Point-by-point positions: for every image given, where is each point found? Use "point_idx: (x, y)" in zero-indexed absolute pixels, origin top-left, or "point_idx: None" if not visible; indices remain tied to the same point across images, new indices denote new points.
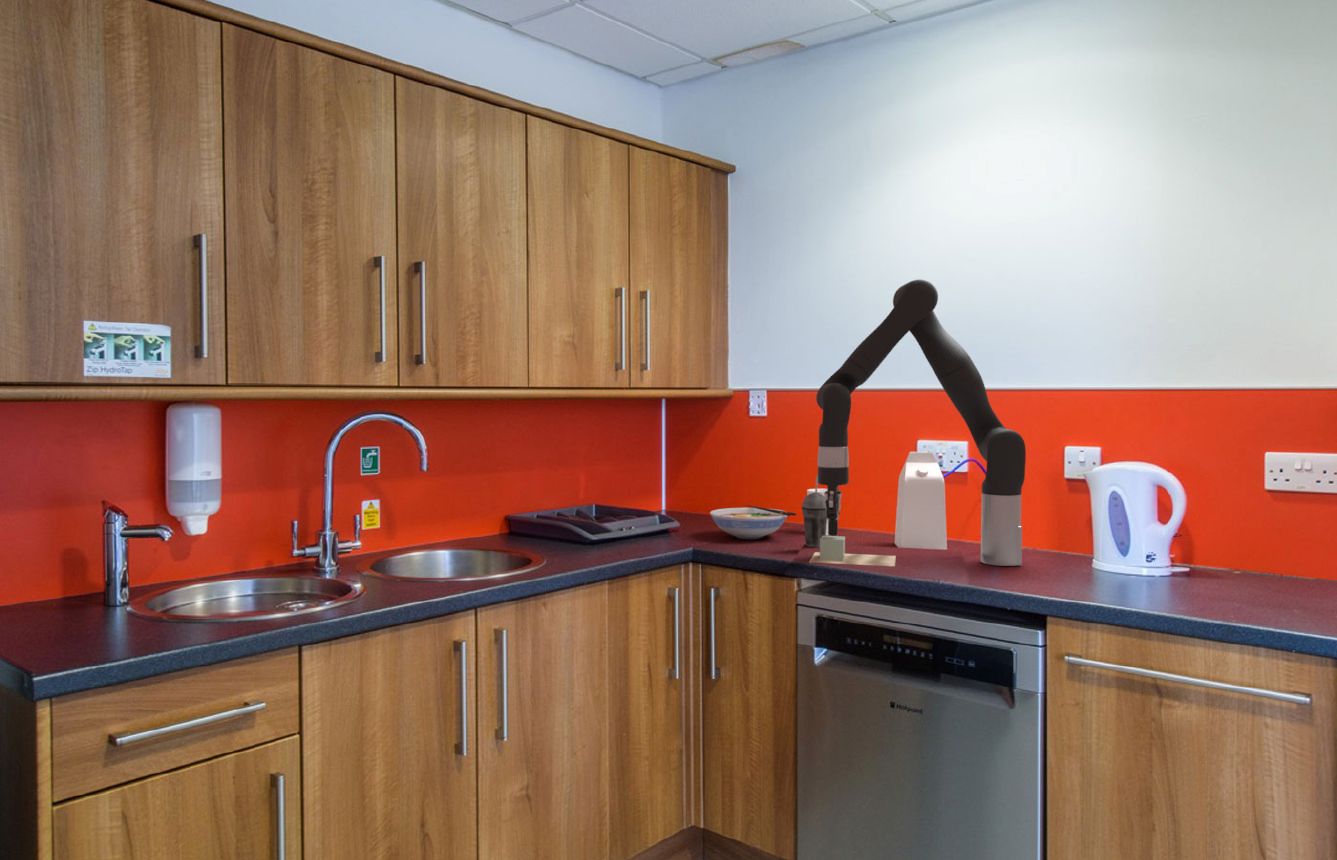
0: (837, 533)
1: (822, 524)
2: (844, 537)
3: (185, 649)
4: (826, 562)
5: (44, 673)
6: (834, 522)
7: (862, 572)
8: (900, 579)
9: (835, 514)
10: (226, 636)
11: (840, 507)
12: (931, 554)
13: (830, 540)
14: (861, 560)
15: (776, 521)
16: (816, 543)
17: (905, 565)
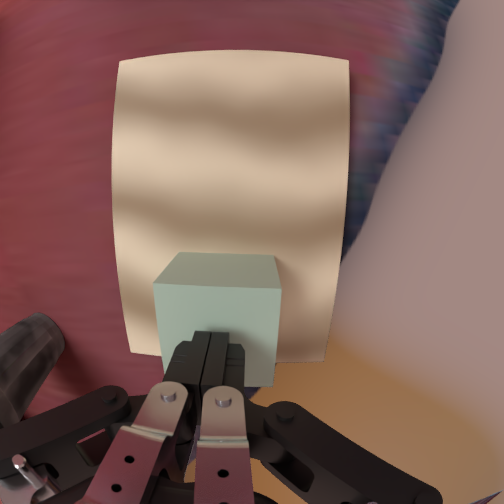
0: (217, 333)
1: (6, 365)
2: (184, 285)
3: (492, 494)
4: (324, 311)
5: (501, 491)
6: (244, 393)
7: (361, 177)
8: (432, 74)
9: (329, 434)
10: (480, 501)
11: (132, 439)
12: (21, 23)
13: (276, 345)
14: (253, 180)
15: None
16: (49, 347)
17: (187, 32)
